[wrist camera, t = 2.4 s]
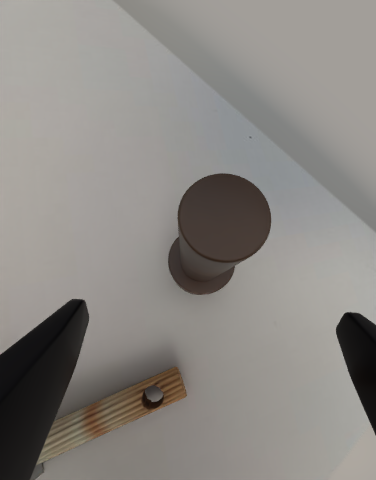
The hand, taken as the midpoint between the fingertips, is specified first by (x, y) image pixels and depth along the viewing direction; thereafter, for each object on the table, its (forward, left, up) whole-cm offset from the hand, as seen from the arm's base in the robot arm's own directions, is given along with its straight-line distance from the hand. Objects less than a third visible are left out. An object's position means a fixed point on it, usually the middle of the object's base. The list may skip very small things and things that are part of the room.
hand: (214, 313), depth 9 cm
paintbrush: (-8, +11, -10) cm, 17 cm away
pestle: (+3, 0, -10) cm, 10 cm away
